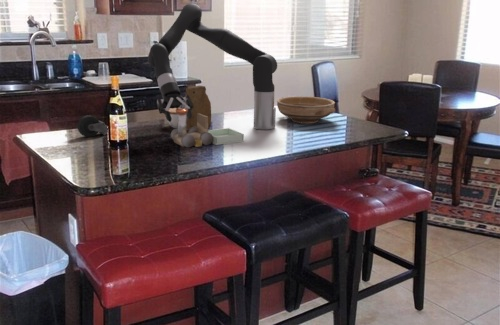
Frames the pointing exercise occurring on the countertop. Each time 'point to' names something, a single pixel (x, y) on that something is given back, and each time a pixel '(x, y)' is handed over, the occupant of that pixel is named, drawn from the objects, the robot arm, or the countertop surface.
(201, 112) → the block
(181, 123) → the copper topped glass grinder
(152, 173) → the countertop surface
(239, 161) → the countertop surface
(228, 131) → the tray
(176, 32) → the robot arm
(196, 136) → the trolley
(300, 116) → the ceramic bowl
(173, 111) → the lidded jar
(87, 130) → the caster wheel
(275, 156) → the countertop surface
